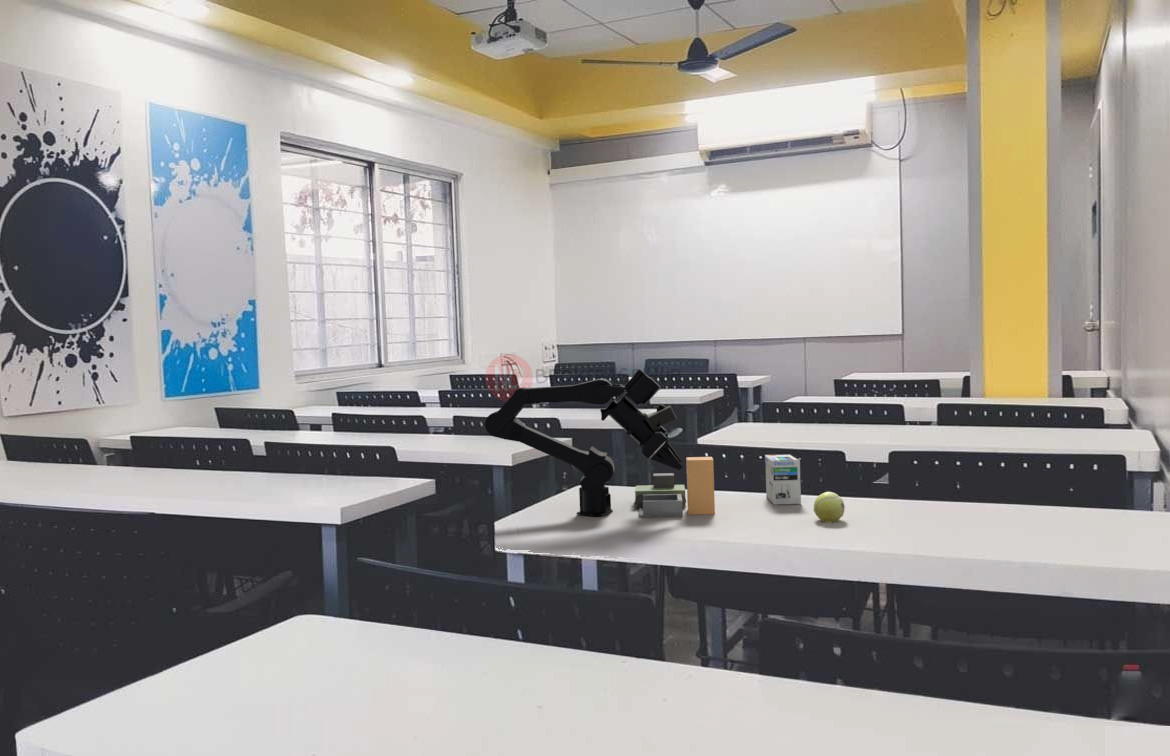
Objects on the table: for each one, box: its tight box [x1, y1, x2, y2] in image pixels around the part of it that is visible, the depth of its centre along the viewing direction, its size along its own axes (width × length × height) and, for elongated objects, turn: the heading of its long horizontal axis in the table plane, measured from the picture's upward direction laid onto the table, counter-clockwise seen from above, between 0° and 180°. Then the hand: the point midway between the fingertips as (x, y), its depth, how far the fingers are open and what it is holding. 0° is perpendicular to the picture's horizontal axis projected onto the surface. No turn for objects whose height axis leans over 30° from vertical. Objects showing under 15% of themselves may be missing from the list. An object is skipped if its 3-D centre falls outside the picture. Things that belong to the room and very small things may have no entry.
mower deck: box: [634, 472, 687, 509], centre depth 221 cm, size 12×10×7 cm
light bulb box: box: [764, 454, 802, 506], centre depth 220 cm, size 11×7×11 cm, turn 179°
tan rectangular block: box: [685, 456, 716, 515], centre depth 210 cm, size 6×5×12 cm
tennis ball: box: [813, 491, 846, 523], centre depth 196 cm, size 6×7×7 cm
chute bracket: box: [638, 494, 684, 518], centre depth 211 cm, size 10×10×4 cm
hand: (680, 465), depth 210 cm, fingers open, 9 cm apart
